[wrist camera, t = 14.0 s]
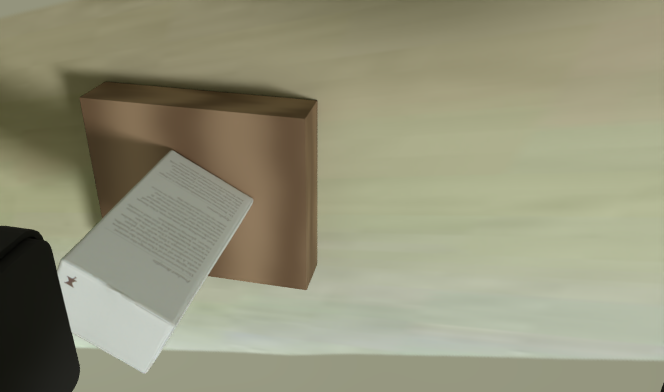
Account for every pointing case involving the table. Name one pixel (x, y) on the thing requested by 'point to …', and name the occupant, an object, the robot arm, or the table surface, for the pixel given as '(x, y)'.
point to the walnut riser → (219, 165)
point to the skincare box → (149, 259)
